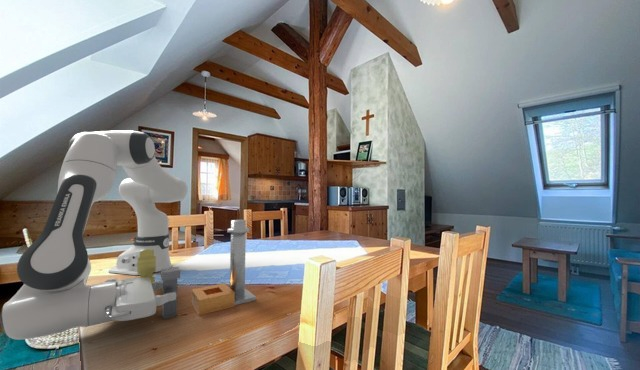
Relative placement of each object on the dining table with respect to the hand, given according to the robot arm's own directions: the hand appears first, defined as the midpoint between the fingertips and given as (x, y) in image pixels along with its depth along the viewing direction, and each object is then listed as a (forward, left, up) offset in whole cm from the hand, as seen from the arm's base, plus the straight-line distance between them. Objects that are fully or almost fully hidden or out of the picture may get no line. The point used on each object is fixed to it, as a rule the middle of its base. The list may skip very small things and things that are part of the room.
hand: (173, 289), depth 70 cm
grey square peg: (-1, -1, -7) cm, 7 cm away
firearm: (-18, +15, -7) cm, 24 cm away
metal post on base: (+10, +9, -7) cm, 15 cm away
